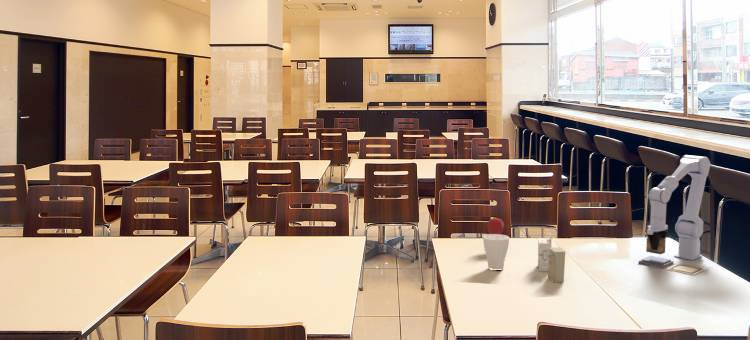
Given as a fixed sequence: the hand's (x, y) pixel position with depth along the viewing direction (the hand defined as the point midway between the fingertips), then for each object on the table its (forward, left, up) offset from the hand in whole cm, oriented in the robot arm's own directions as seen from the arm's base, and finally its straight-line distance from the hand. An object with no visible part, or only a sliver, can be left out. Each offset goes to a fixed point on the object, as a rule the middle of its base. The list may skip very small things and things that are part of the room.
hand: (656, 248), depth 257 cm
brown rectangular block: (0, 0, -2) cm, 2 cm away
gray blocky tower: (+40, -28, -7) cm, 49 cm away
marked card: (0, +12, -6) cm, 14 cm away
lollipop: (+31, -60, -7) cm, 67 cm away
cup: (+55, -41, -7) cm, 69 cm away
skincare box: (+50, -16, -7) cm, 53 cm away
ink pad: (0, 0, -6) cm, 6 cm away
